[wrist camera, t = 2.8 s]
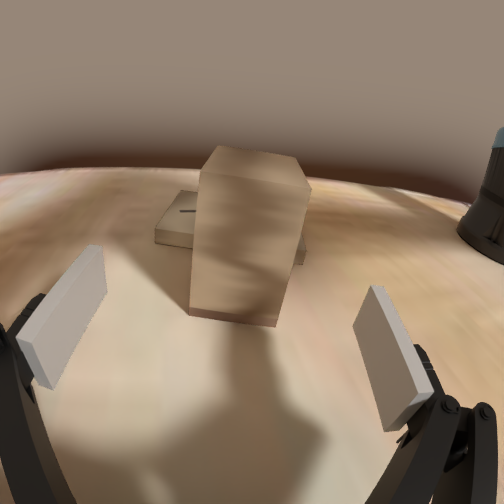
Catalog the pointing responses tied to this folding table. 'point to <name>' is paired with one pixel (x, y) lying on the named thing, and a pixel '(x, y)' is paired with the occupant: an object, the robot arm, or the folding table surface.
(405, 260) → the folding table surface
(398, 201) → the folding table surface
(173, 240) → the board
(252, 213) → the block
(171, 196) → the folding table surface
